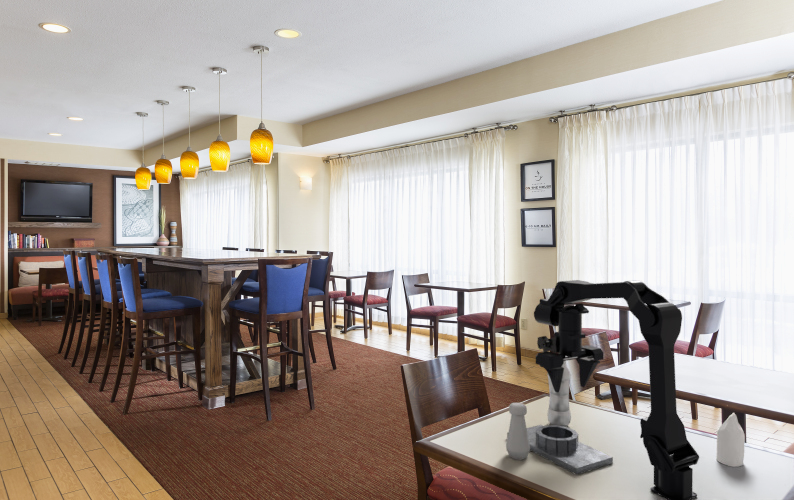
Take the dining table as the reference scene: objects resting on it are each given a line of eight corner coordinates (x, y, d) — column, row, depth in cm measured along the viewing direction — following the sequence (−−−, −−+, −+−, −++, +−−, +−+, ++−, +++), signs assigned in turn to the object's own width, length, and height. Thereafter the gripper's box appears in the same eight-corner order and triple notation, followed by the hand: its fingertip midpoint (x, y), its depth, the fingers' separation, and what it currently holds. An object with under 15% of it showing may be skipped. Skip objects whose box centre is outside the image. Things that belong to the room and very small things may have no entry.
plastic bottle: (547, 428, 144) (547, 358, 144) (547, 420, 151) (547, 352, 150) (571, 430, 143) (571, 359, 142) (570, 422, 149) (570, 353, 148)
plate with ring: (612, 463, 122) (612, 444, 122) (576, 474, 117) (576, 455, 117) (540, 429, 143) (540, 414, 143) (507, 438, 138) (507, 421, 138)
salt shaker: (530, 462, 123) (530, 408, 123) (506, 460, 124) (506, 407, 124) (529, 452, 129) (529, 401, 129) (506, 450, 130) (505, 399, 130)
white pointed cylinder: (716, 406, 126) (744, 410, 123) (716, 454, 126) (743, 459, 124) (717, 413, 121) (745, 417, 118) (716, 463, 121) (745, 469, 118)
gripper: (572, 321, 143) (572, 376, 144) (520, 327, 135) (520, 386, 135) (605, 327, 133) (604, 387, 134) (551, 334, 125) (551, 398, 125)
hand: (569, 389), depth 132 cm, fingers open, 9 cm apart
